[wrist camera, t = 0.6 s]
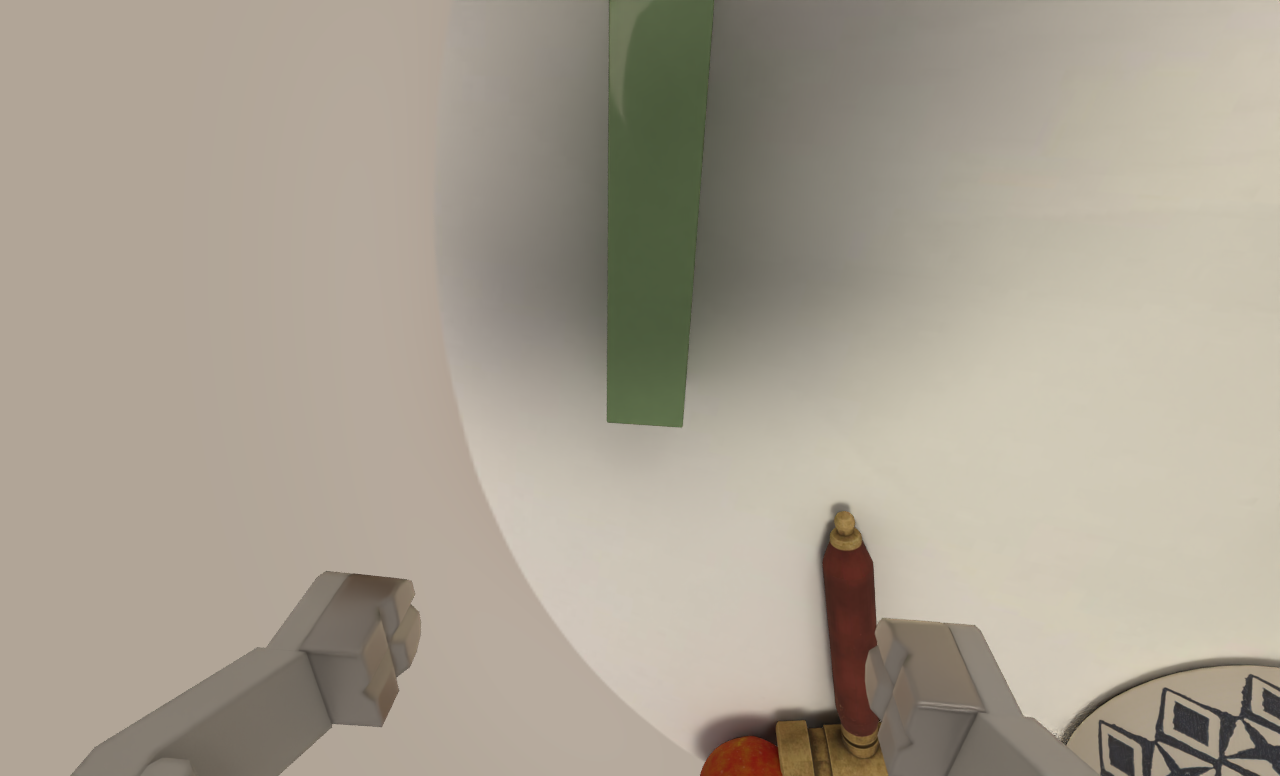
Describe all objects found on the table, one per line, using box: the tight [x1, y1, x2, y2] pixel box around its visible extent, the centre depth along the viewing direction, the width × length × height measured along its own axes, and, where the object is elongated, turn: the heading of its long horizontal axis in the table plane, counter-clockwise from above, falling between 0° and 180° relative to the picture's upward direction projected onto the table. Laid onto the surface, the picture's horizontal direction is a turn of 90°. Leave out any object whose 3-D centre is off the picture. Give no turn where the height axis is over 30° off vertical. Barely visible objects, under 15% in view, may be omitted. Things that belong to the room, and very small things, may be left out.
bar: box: [607, 0, 714, 427], centre depth 24 cm, size 16×3×4 cm, turn 178°
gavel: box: [776, 511, 888, 776], centre depth 35 cm, size 21×5×10 cm
